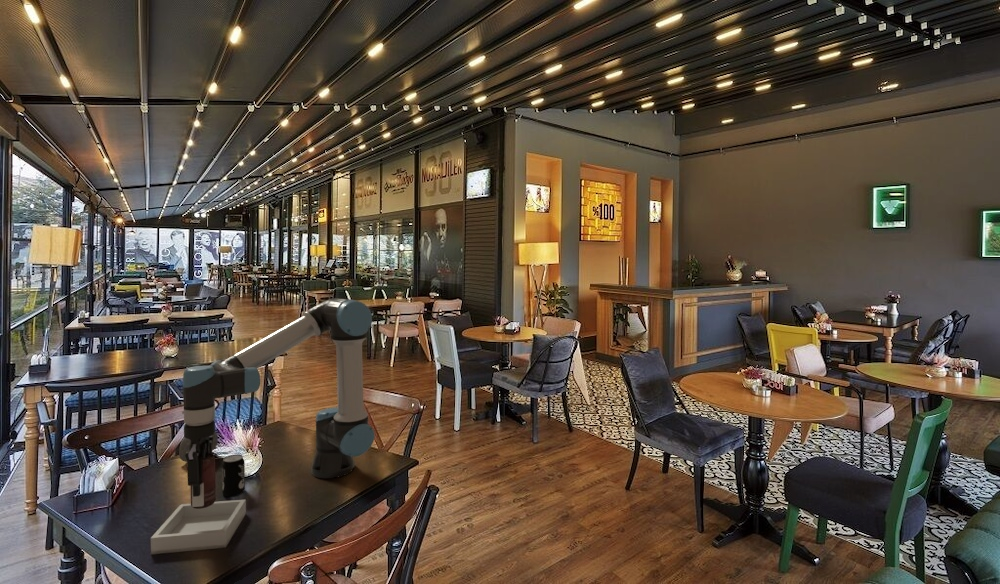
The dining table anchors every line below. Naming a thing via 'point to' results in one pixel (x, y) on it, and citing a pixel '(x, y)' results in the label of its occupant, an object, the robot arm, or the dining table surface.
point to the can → (208, 481)
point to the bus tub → (199, 527)
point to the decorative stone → (186, 445)
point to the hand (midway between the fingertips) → (201, 502)
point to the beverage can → (233, 475)
